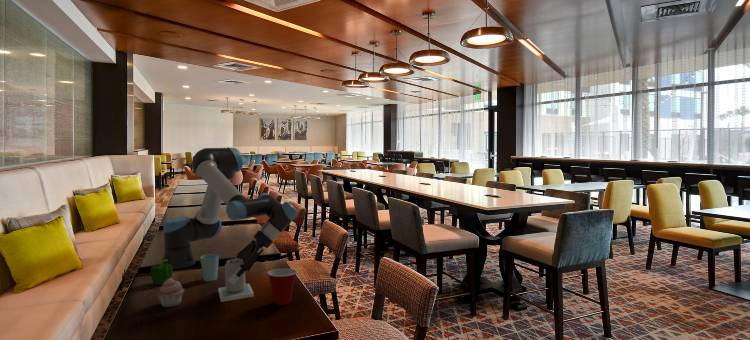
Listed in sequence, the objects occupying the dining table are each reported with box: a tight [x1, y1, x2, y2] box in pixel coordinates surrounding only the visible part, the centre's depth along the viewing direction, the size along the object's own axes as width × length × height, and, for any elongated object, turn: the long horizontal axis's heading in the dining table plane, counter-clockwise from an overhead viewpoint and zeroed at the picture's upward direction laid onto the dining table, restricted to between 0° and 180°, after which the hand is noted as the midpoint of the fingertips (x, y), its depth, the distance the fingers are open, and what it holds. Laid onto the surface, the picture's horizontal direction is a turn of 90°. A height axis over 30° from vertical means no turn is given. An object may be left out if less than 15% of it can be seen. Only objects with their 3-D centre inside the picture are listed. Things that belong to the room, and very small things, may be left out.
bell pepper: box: [150, 260, 174, 286], centre depth 176 cm, size 8×8×10 cm
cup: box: [199, 253, 220, 282], centre depth 180 cm, size 8×8×10 cm
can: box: [224, 257, 247, 293], centre depth 162 cm, size 8×8×12 cm
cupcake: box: [156, 277, 185, 308], centre depth 152 cm, size 9×9×10 cm
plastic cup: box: [267, 268, 298, 306], centre depth 152 cm, size 11×11×12 cm
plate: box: [217, 283, 255, 303], centre depth 162 cm, size 12×12×2 cm
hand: (228, 277), depth 161 cm, fingers open, 13 cm apart
